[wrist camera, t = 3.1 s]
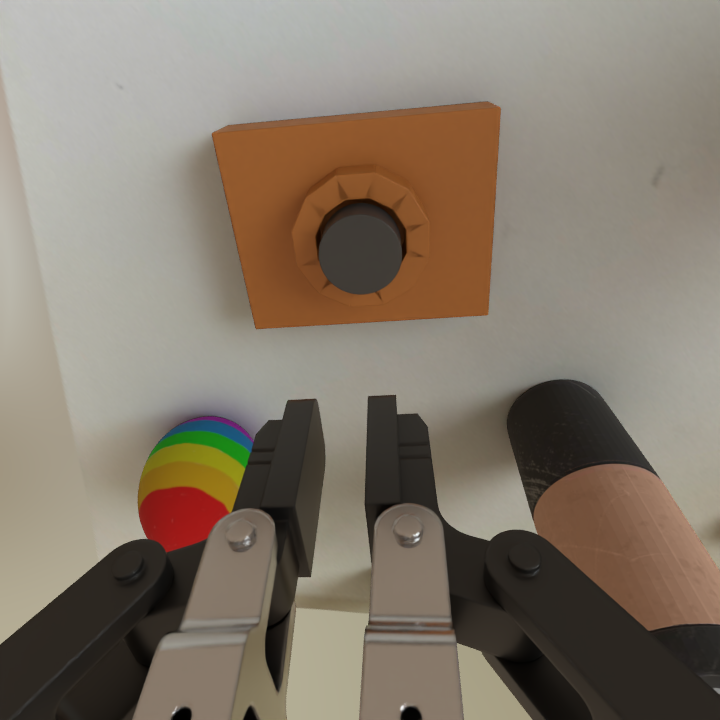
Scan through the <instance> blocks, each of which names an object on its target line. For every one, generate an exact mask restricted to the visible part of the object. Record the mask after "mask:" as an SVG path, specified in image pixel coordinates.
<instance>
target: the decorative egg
mask: <svg viewBox="0 0 720 720" xmlns="http://www.w3.org/2000/svg"><path fill="white" fill-rule="evenodd" d="M253 443H254V441H253V440H252V438H251V437H250V436H249V434H248V433H247V432H246V431H245V430H244V429H243V428H242V427H241V426H239V425H238V424H236V423H234V422H232V421H230V420H228V419H225V418H221V417H214V416H207V417H199V418H195V419H191V420H189V421H186V422H184V423H182V424H180V425H178V426H176V427H175V428H173V429H172V430H171V431H170V432H168V433H167V434H166V435H165V436H164V437H163V438H162V439H161V440H160V441H159V442H158V444H157V445H156V446H155V448H154V449H153V450H152V452H151V454H150V456H149V457H148V460H147V462H146V464H145V466H144V469H143V472H142V475H141V479H140V484H139V490H138V510H139V517H140V522H141V525H142V528H143V530H144V533H145V535H146V537H147V538H148V539H151V540H155V541H157V542H159V543H160V544H161V545H162V546H163V547H164V549H165V551H166V552H169V551H173V550H176V549H179V548H182V547H186V546H189V545H192V544H195V543H198V542H200V541H203V540H205V539H207V538H208V535H209V533H210V531H211V529H212V528H213V526H214V525H215V524H216V523H217V522H218V521H219V520H220V519H221V518H223V517H224V516H226V515H228V514H229V513H231V512H232V509H233V506H234V503H235V499H236V496H237V493H238V490H239V487H240V484H241V481H242V478H243V474H244V471H245V468H246V465H248V459H249V456H250V452H252V446H253Z"/></svg>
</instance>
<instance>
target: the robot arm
mask: <svg viewBox="0 0 720 720" xmlns="http://www.w3.org/2000/svg"><path fill="white" fill-rule="evenodd" d="M324 471H325V443H324V437H323V431H322V424H321V418H320V412H319V406H318V402H317V399H301V400H288V401H287V404H286V407H285V411H284V415H283V419H282V420H268V422H267V423H266V424H265V425H264V426H263V427H262V428H261V429H260V431H259V432H258V433H257V434H256V437H255V440H254V443H253V446H252V452H250V456H249V459H248V465H246V468H245V471H244V474H243V478H242V481H241V484H240V487H239V490H238V493H237V496H236V499H235V503H234V506H233V509H232V512H231V513H229V514H228V515H226V516H224V517H223V518H221V519H220V520H219V521H218V522H217V523H216V524H215V525H214V526H213V528H212V529H211V531H210V533H209V535H208V538H207V539H205V540H203V541H200V542H198V543H195V544H192V545H189V546H186V547H182V548H179V549H176V550H173V551H169V552H166V551H165V549H164V547H163V546H162V545H161V544H160V543H159V542H157V541H155V540H151V539H139V540H134V541H131V542H128V543H125V544H123V545H121V546H119V547H118V548H116V549H115V550H113V551H112V552H111V553H109V554H108V555H107V556H106V557H104V558H103V559H102V560H101V561H100V562H98V563H97V564H96V565H95V566H94V567H92V568H91V569H90V570H89V571H88V572H87V573H86V574H84V575H83V576H82V577H81V578H80V579H78V580H77V581H76V582H75V583H73V584H72V585H71V586H70V587H69V588H67V589H66V590H65V591H64V592H63V593H62V594H60V595H59V596H58V597H57V598H55V599H54V600H53V601H52V602H51V603H49V604H48V605H47V606H46V607H45V608H44V609H42V610H41V611H40V612H39V613H38V614H36V615H35V616H34V617H33V618H32V619H30V620H29V621H28V622H27V623H26V624H24V625H23V626H22V627H21V628H20V629H18V630H17V631H16V632H15V633H14V634H12V635H11V636H10V637H9V638H8V639H6V640H5V641H4V642H3V643H2V644H1V645H0V720H287V717H286V694H287V684H288V676H289V667H290V657H291V649H292V640H293V632H294V623H295V613H296V603H295V599H294V598H295V593H296V586H297V580H298V577H311V572H312V564H313V556H314V549H315V541H316V533H317V525H318V518H319V510H320V502H321V494H322V487H323V479H324ZM365 511H366V519H367V528H368V537H369V545H370V554H371V563H372V571H371V590H370V609H369V623H368V626H366V629H365V635H364V647H363V664H362V680H361V697H360V714H359V720H464V714H463V704H462V694H461V683H460V673H459V662H458V653H457V643H459V644H462V645H465V646H468V647H471V648H474V649H476V650H479V651H481V652H482V654H483V656H484V657H485V659H486V660H487V662H488V663H489V664H490V665H491V667H492V668H493V669H494V670H495V672H496V673H497V674H498V676H499V677H500V678H501V679H502V681H503V682H504V683H505V685H506V686H507V687H508V689H509V690H510V691H511V692H512V694H513V695H514V696H515V698H516V699H517V700H518V701H519V703H520V704H521V705H522V706H523V708H524V709H525V710H526V712H527V713H528V714H529V715H530V717H531V718H532V719H533V720H720V694H718V693H717V692H716V691H715V690H714V689H713V688H712V687H711V686H710V685H708V684H707V683H706V682H705V681H704V680H703V679H702V678H701V677H699V676H698V675H697V674H696V673H695V672H694V671H693V670H692V669H691V668H689V667H688V666H687V665H686V664H685V663H684V662H683V661H682V660H681V659H679V658H678V657H677V656H676V655H675V654H674V653H673V652H672V651H671V650H669V649H668V648H667V647H666V646H665V645H664V644H663V643H662V642H660V641H659V640H658V639H657V638H656V637H655V636H654V635H653V634H652V633H650V632H649V631H648V630H647V629H646V628H645V627H644V626H643V625H642V624H640V623H639V622H638V621H637V620H636V619H635V618H634V617H633V616H631V615H630V614H629V613H628V612H627V611H626V610H625V609H624V608H623V607H621V606H620V605H619V604H618V603H617V602H616V601H615V600H614V599H613V598H611V597H610V596H609V595H608V594H607V593H606V592H605V591H604V590H602V589H601V588H600V587H599V586H598V585H597V584H596V583H595V582H594V581H592V580H591V579H590V578H589V577H588V576H587V575H586V574H585V573H584V572H582V571H581V570H580V569H579V568H578V567H577V566H576V565H575V564H574V563H572V562H571V561H570V560H569V559H568V558H567V557H566V556H565V555H563V554H562V553H561V552H560V551H559V550H558V549H557V548H556V547H555V546H553V545H552V544H551V543H550V542H549V541H547V540H546V539H545V538H543V537H541V536H540V535H537V534H535V533H532V532H529V531H524V530H508V531H504V532H501V533H499V534H497V535H496V536H495V537H493V538H492V539H491V540H490V541H488V540H484V539H480V538H476V537H473V536H469V535H466V534H464V533H461V532H459V531H457V530H456V529H454V528H453V527H452V526H450V525H449V524H448V523H447V522H446V521H445V520H444V518H443V517H442V515H441V513H440V511H439V508H438V503H437V495H436V488H435V480H434V472H433V465H432V458H431V449H430V442H429V434H428V427H427V425H426V424H425V423H424V421H423V420H422V419H421V417H420V416H419V415H418V414H398V415H397V406H396V395H383V396H368V413H367V446H366V478H365Z"/></svg>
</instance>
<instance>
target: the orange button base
mask: <svg viewBox="0 0 720 720" xmlns="http://www.w3.org/2000/svg"><path fill="white" fill-rule="evenodd" d="M500 114H501V108H500V107H499V106H496V105H494V104H492V103H490V102H477V103H466V104H455V105H444V106H433V107H422V108H411V109H400V110H389V111H378V112H367V113H357V114H346V115H335V116H324V117H313V118H302V119H291V120H280V121H269V122H258V123H247V124H236V125H228V126H226V127H223V128H221V129H219V130H217V131H215V132H213V133H212V138H213V142H214V147H215V151H216V155H217V160H218V164H219V169H220V173H221V178H222V182H223V186H224V191H225V195H226V200H227V204H228V209H229V213H230V217H231V222H232V226H233V231H234V235H235V240H236V244H237V248H238V253H239V257H240V262H241V266H242V271H243V275H244V279H245V284H246V288H247V293H248V297H249V302H250V306H251V310H252V315H253V319H254V324H255V328H256V329H265V328H282V327H299V326H315V325H332V324H349V323H365V322H382V321H399V320H415V319H432V318H449V317H465V316H482V315H488V309H489V293H490V277H491V260H492V244H493V228H494V211H495V195H496V179H497V163H498V146H499V130H500ZM355 203H368V204H372V205H375V206H378V207H380V208H381V209H383V210H385V211H386V212H387V213H388V214H389V215H390V216H391V217H392V218H393V219H394V221H395V223H396V224H397V227H398V229H399V233H400V238H401V247H402V262H401V266H400V269H399V271H398V273H397V275H396V277H395V278H394V279H393V280H392V282H391V283H389V284H388V285H387V286H386V287H384V288H383V289H381V290H379V291H377V292H374V293H370V294H364V295H358V294H351V293H348V292H345V291H342V290H341V289H339V288H337V287H336V286H334V285H333V284H332V283H331V282H330V281H329V280H328V279H327V278H326V276H325V275H324V273H323V271H322V269H321V266H320V262H319V254H318V253H319V245H320V242H321V238H322V235H323V232H324V229H325V226H326V224H327V222H328V220H329V219H330V218H331V216H332V215H333V214H334V213H335V212H337V211H338V210H339V209H341V208H343V207H345V206H347V205H350V204H355Z"/></svg>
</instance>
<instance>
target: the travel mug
mask: <svg viewBox="0 0 720 720" xmlns="http://www.w3.org/2000/svg"><path fill="white" fill-rule="evenodd" d="M507 429H508V434H509V438H510V442H511V445H512V449H513V452H514V456H515V459H516V463H517V466H518V470H519V473H520V476H521V480H522V483H523V487H524V490H525V494H526V497H527V501H528V504H529V508H530V511H531V514H532V518H533V521H534V524H535V527H536V530H537V533H538V535H540V536H541V537H543V538H545V539H546V540H547V541H549V542H550V543H551V544H552V545H553V546H555V547H556V548H557V549H558V550H559V551H560V552H561V553H562V554H563V555H565V556H566V557H567V558H568V559H569V560H570V561H571V562H572V563H574V564H575V565H576V566H577V567H578V568H579V569H580V570H581V571H582V572H584V573H585V574H586V575H587V576H588V577H589V578H590V579H591V580H592V581H594V582H595V583H596V584H597V585H598V586H599V587H600V588H601V589H602V590H604V591H605V592H606V593H607V594H608V595H609V596H610V597H611V598H613V599H614V600H615V601H616V602H617V603H618V604H619V605H620V606H621V607H623V608H624V609H625V610H626V611H627V612H628V613H629V614H630V615H631V616H633V617H634V618H635V619H636V620H637V621H638V622H639V623H640V624H642V625H643V626H644V627H645V628H646V629H647V630H648V631H649V632H650V633H652V634H653V635H654V636H655V637H656V638H657V639H658V640H659V641H660V642H662V643H663V644H664V645H665V646H666V647H667V648H668V649H669V650H671V651H672V652H673V653H674V654H675V655H676V656H677V657H678V658H679V659H681V660H682V661H683V662H684V663H685V664H686V665H687V666H688V667H689V668H691V669H692V670H693V671H694V672H695V673H696V674H697V675H698V676H699V677H701V678H702V679H703V680H704V681H705V682H706V683H707V684H708V685H710V686H711V687H712V688H713V689H714V690H715V691H716V692H717V693H718V694H720V571H719V569H718V567H717V566H716V564H715V563H714V561H713V560H712V558H711V557H710V555H709V553H708V552H707V550H706V549H705V547H704V546H703V544H702V543H701V541H700V539H699V538H698V536H697V535H696V533H695V532H694V530H693V529H692V527H691V525H690V524H689V522H688V521H687V519H686V518H685V516H684V515H683V513H682V511H681V510H680V508H679V507H678V505H677V504H676V502H675V501H674V499H673V497H672V496H671V494H670V493H669V491H668V490H667V488H666V487H665V485H664V484H663V482H662V481H661V479H660V478H659V476H658V475H657V473H656V472H655V471H654V469H653V468H652V466H651V465H650V464H649V462H648V461H647V459H646V458H645V457H644V455H643V454H642V452H641V451H640V450H639V448H638V447H637V445H636V444H635V443H634V441H633V440H632V438H631V437H630V436H629V434H628V433H627V431H626V430H625V429H624V427H623V426H622V424H621V423H620V422H619V420H618V419H617V417H616V416H615V415H614V413H613V412H612V410H611V409H610V408H609V406H608V405H607V404H606V402H605V401H604V399H603V398H602V397H601V396H600V394H599V393H598V392H597V391H596V390H594V389H593V388H592V387H590V386H588V385H586V384H584V383H582V382H578V381H574V380H554V381H550V382H546V383H542V384H540V385H537V386H535V387H533V388H531V389H530V390H528V391H527V392H525V393H524V394H523V395H522V396H520V397H519V398H518V399H517V401H516V402H515V403H514V404H513V406H512V408H511V410H510V412H509V415H508V419H507Z"/></svg>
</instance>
